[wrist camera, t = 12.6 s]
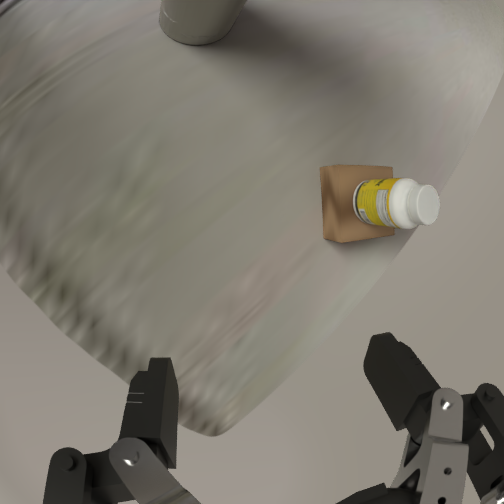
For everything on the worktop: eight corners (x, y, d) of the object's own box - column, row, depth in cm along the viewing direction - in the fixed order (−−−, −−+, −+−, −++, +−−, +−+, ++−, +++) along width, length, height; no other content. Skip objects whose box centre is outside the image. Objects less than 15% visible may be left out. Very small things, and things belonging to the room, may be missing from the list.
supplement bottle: (384, 182, 34) (444, 182, 25) (382, 224, 35) (442, 234, 26) (351, 176, 32) (413, 173, 23) (349, 222, 33) (411, 232, 24)
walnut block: (319, 167, 35) (337, 164, 31) (372, 168, 38) (392, 166, 34) (323, 238, 37) (341, 242, 33) (375, 231, 40) (394, 234, 36)
